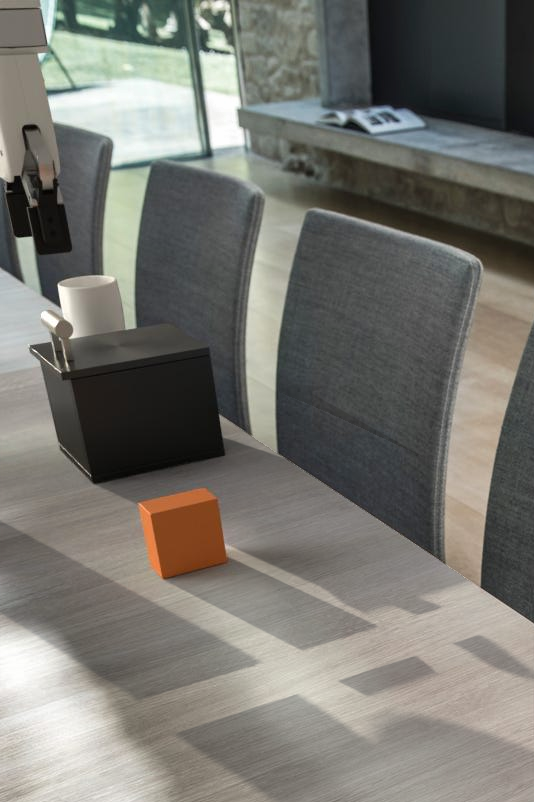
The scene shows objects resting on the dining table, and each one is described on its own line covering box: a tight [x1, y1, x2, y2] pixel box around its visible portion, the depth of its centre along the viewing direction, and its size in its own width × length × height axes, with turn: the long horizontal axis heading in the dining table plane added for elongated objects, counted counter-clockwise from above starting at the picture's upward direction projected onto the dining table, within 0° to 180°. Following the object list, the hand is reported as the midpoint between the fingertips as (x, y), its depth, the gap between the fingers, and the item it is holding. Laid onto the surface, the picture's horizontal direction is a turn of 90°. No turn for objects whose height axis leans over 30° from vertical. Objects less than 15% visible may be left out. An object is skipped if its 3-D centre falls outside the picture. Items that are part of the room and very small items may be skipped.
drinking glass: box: [57, 274, 127, 339], centre depth 136 cm, size 7×7×15 cm
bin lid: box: [28, 309, 211, 381], centre depth 120 cm, size 15×13×5 cm
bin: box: [39, 354, 226, 484], centre depth 124 cm, size 15×13×11 cm
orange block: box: [137, 487, 228, 579], centre depth 101 cm, size 6×3×6 cm, turn 122°
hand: (42, 244), depth 109 cm, fingers open, 9 cm apart
